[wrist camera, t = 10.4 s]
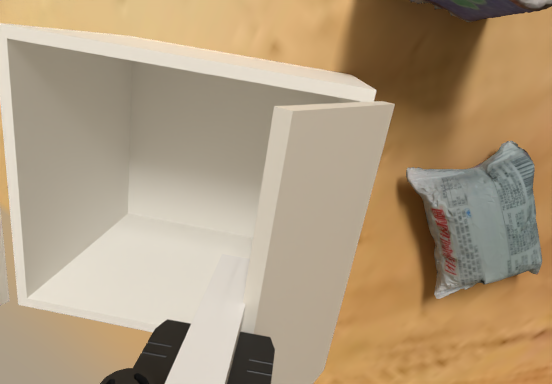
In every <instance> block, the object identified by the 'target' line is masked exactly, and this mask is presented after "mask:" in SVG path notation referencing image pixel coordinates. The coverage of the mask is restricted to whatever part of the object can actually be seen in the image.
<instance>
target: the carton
mask: <svg viewBox="0 0 552 384" xmlns="http://www.w3.org/2000/svg"><path fill="white" fill-rule="evenodd" d="M376 91H377V90H376V89H374V88H372V87H371V86H369V85H367V84H366V83H364V82H362V81H361V80H359V79H358V78H356V77H354V76H353V75H351V74H345V73H339V72H334V71H328V70H322V69H316V68H311V67H305V66H299V65H294V64H288V63H282V62H277V61H271V60H265V59H260V58H254V57H248V56H242V55H237V54H231V53H225V52H220V51H214V50H208V49H203V48H197V47H191V46H185V45H180V44H174V43H168V42H163V41H157V40H151V39H146V38H140V37H134V36H127V35H117V34H106V33H96V32H86V31H76V30H65V29H55V28H45V27H35V26H25V25H14V24H4V23H0V103H1V114H2V125H3V137H4V148H5V159H6V171H7V182H8V194H9V205H10V216H11V227H12V239H13V249H14V262H15V273H16V284H17V296H18V305H23V306H28V307H32V308H38V309H42V310H47V311H52V312H57V313H62V314H66V315H71V316H76V317H81V318H86V319H90V320H95V321H100V322H105V323H110V324H115V325H119V326H125V327H130V328H134V329H139V330H144V331H149V332H154V330H155V328H157V327H158V326H159V325H160V324H162V323H163V322H164V321H166V320H167V319H169V320H174V321H180V322H185V323H192V321H193V319H194V316H195V314H196V312H197V310H198V307H199V305H200V303H201V301H202V298H203V296H204V294H205V292H206V289H207V287H208V285H209V282H210V280H211V278H212V276H213V273H214V271H215V269H216V267H217V264H218V262H219V260H220V258H221V255H222V254H226V255H231V256H237V257H242V258H248V259H250V255H251V249H252V242H253V236H254V230H255V224H256V217H257V211H258V205H259V198H260V192H261V186H262V180H263V173H264V167H265V161H266V154H267V148H268V142H269V135H270V129H271V123H272V117H273V110H274V106H289V105H310V104H331V103H352V102H374V99H375V95H376Z"/></svg>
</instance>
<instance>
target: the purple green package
mask: <svg viewBox="0 0 552 384" xmlns="http://www.w3.org/2000/svg"><path fill="white" fill-rule="evenodd" d="M410 1H411V2H416V3H417V4H419V3H421V4H422V2H423V3H430V4H432V5H434V7H435V9H445V10H447V11H448V12H449V13H450V14H451V16H452V15H454V16H456V17H458V18H459V19H462V20H465V21H466V22H473V21H477V20H480V19H486V18H494V17H501V16H506V15H512V14H519V13H525V12H528V13H529V12H533V11H540V10H543V9H547V8H549V7H551V6H552V0H410Z"/></svg>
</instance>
